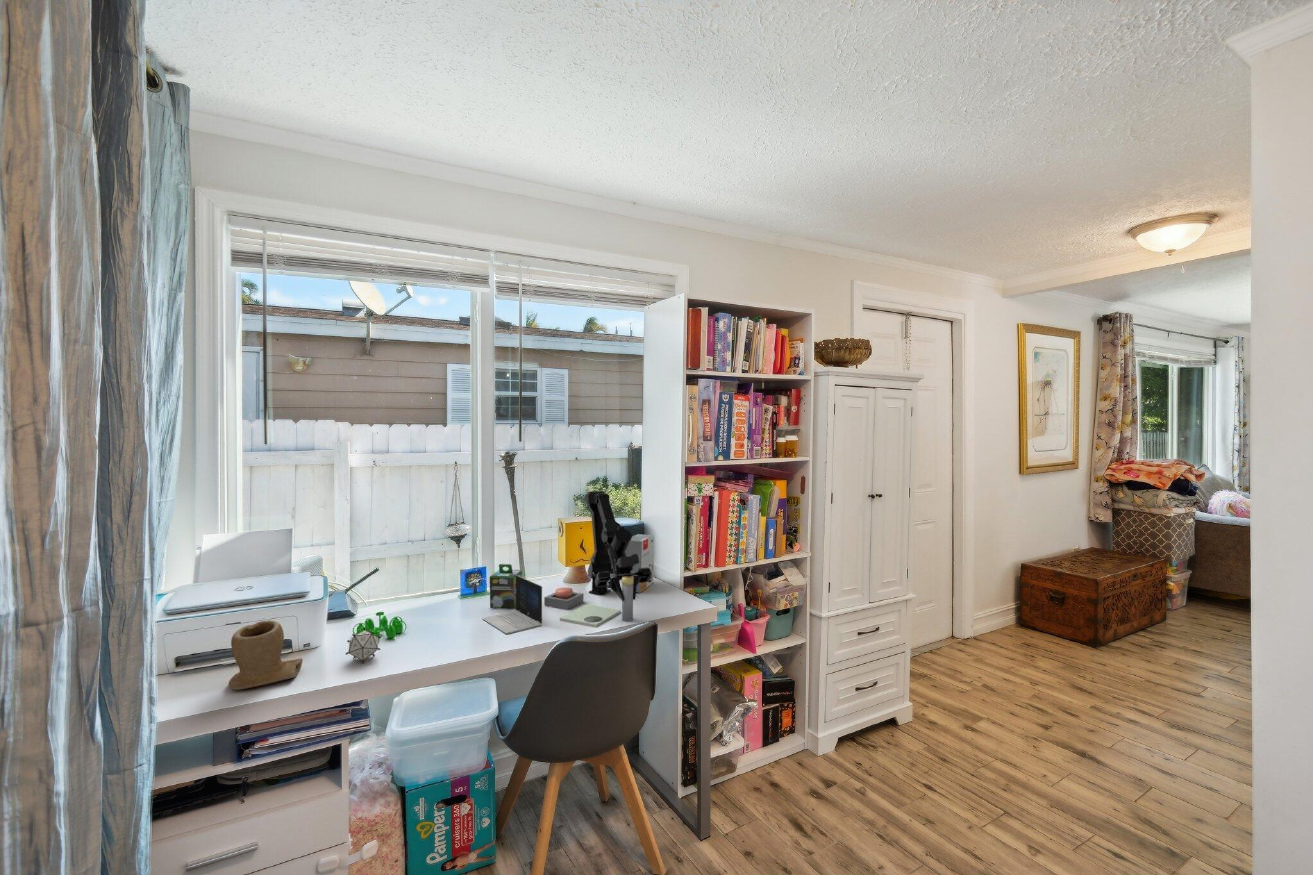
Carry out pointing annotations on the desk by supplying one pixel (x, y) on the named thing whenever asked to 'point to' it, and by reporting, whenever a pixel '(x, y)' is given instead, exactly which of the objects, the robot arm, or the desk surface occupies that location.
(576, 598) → the button housing
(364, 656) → the game die
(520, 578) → the laptop
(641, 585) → the hard drive box
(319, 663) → the desk surface
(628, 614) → the marker
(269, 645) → the stone cup
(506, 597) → the chalk box
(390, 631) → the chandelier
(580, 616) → the pale green board
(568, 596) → the button
